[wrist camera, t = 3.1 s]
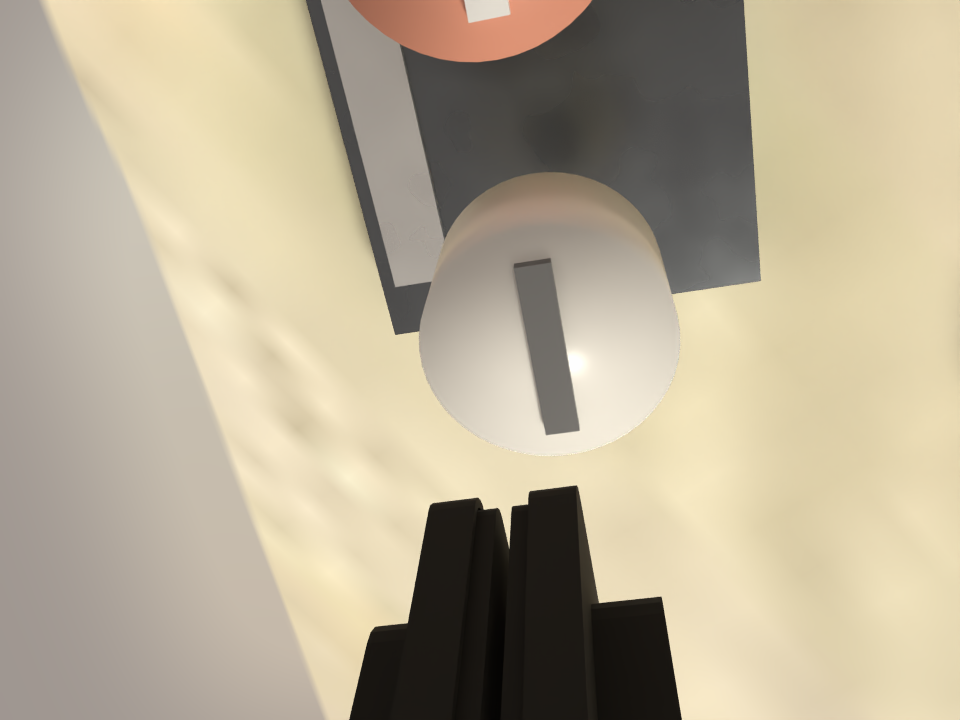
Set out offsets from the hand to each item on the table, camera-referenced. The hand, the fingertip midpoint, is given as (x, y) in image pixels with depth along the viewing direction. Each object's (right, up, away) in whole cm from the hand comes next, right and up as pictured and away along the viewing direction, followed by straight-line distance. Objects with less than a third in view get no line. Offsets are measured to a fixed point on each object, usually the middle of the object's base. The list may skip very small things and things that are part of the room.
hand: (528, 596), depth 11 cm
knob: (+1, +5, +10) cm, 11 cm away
